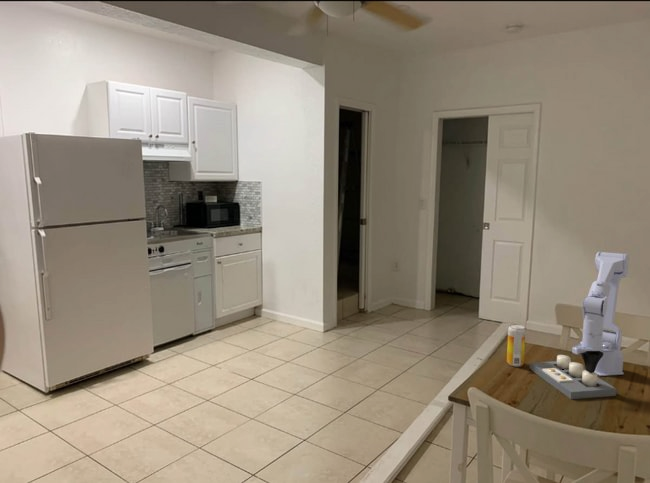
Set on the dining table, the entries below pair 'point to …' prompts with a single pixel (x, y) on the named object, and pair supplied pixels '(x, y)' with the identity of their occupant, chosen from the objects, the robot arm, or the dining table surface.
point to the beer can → (516, 345)
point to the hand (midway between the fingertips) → (590, 371)
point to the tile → (557, 375)
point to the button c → (589, 378)
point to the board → (573, 383)
